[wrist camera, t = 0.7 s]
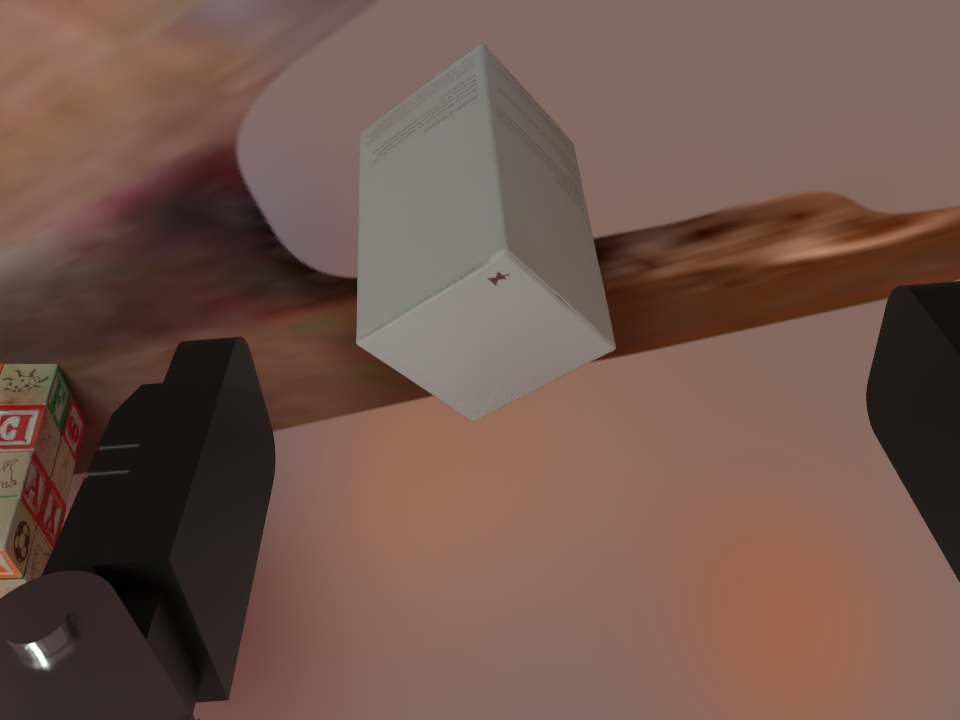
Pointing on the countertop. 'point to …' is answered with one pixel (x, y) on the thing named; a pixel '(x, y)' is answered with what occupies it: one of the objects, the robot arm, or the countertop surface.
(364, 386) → the countertop surface
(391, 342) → the supplement box
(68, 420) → the stack of blocks
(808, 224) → the countertop surface
